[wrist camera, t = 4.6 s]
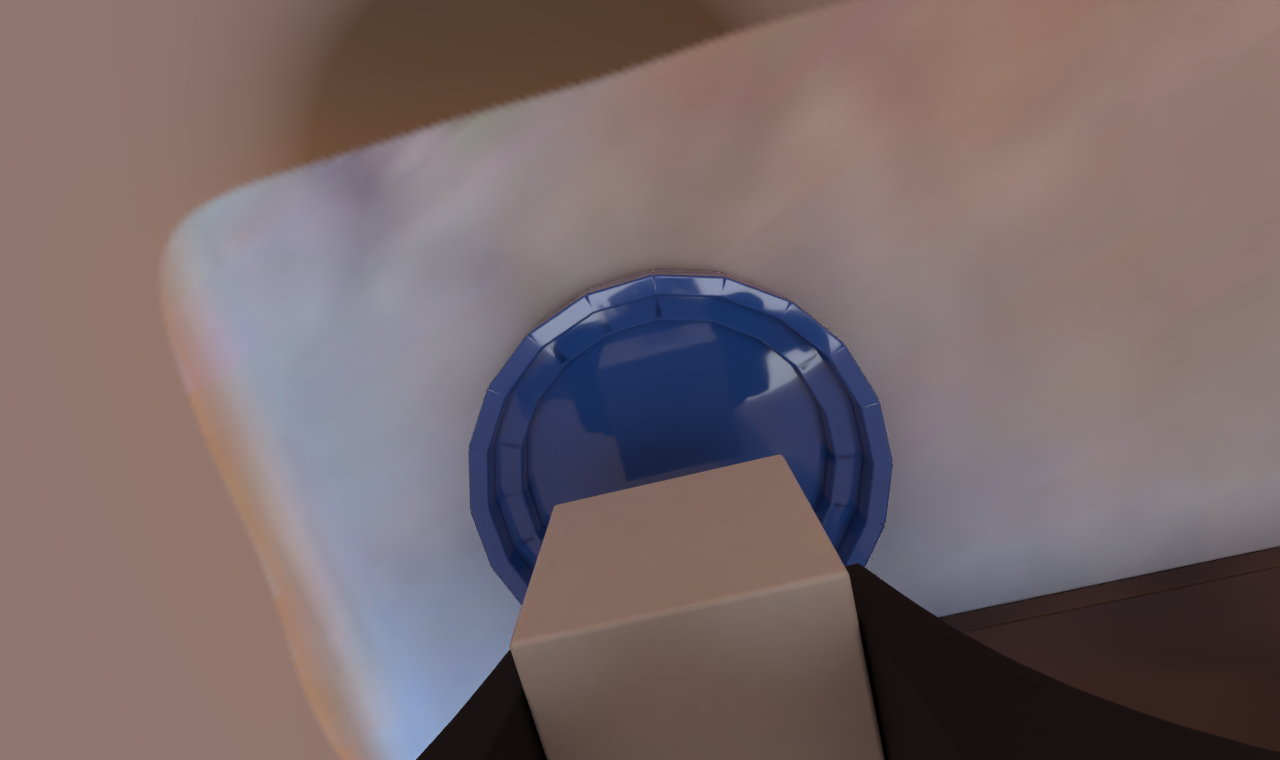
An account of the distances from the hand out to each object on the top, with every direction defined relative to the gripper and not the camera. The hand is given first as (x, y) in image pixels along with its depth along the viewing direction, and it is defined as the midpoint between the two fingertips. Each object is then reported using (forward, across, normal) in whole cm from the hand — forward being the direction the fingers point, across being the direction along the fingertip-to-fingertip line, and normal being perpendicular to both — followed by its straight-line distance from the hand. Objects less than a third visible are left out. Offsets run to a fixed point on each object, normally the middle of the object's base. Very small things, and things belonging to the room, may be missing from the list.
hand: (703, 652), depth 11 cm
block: (+2, 0, 0) cm, 2 cm away
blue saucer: (+8, 0, 0) cm, 8 cm away
